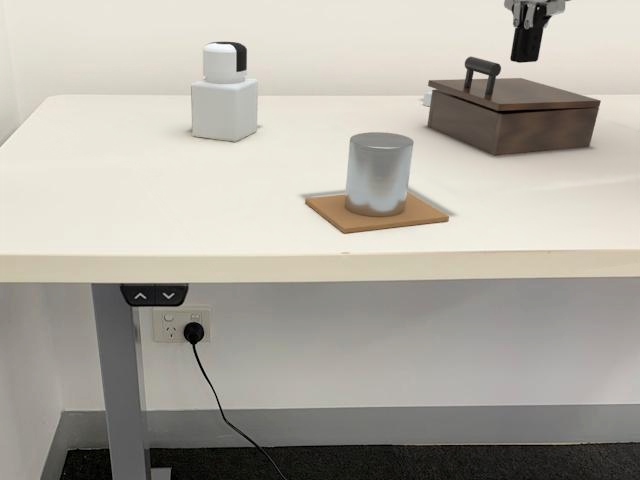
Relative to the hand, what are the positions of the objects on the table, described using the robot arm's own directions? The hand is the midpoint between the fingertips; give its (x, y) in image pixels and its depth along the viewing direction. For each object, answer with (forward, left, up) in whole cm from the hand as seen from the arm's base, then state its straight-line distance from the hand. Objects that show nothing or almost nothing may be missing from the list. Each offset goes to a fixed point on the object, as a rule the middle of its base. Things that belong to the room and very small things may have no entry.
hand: (523, 61), depth 99 cm
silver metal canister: (+31, +20, -10) cm, 39 cm away
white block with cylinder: (+36, -17, -11) cm, 41 cm away
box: (0, -1, -11) cm, 11 cm away
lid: (+1, -1, -4) cm, 5 cm away
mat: (+31, +20, -11) cm, 39 cm away
